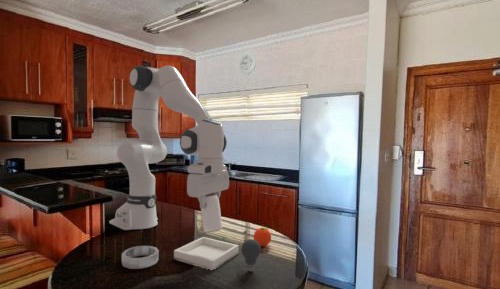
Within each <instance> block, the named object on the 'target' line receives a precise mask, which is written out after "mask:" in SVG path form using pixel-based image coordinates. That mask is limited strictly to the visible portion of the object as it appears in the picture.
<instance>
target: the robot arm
mask: <svg viewBox="0 0 500 289" xmlns="http://www.w3.org/2000/svg"><path fill="white" fill-rule="evenodd" d="M128 81H129V84H130V86H131V88H132V89H133V90H135V91H134V94H133V101H132V111H131V112H132V113H131V117H132V118H131V126H132V128H133V130H135V131H136V133H137V135H138V138H139V139H137V140H135V139H134V140H133V139H132V140H128V141H123V142H122V143H120V144H119V145H118V147H117V150H116V155H117V158H118V160H119V162H121V164H123V166H124V167H125V169H126V170H127V173H128V174H127V175H128V177H129V179H128V180H129V194H128V195H125V199H126V201H125V202H124V203H123V204H122V205H121V206H120V207H119V208H117V209H116V211H115V215H114V218H113V219H111V220H108V221H109V224H110V225H113V226H114V227H116V228H119V229H121V230H123V231H130V230H144V229H151V228H153V227H155V226H158V225H159V223H158V221H157V220H159V218H158V216H157V205H156V202H157V194H156V177H155V175H154V174H153V173H151V171H150V167H149V164H150V165H151V164H157V163H160V162H161V161H163V160H165V159H166V156H167V155H168V150H167V146H166V144H165V143H164V142H163V141H162V138H161V136H160V131H159V100H160V98H161V99H162V101H163V103H164V104H165V106H166V107H167V108H168V109H170V110H172V111H174V112H177V113H181V114H183V115H186V116H188V117H189V118H192V119H193V120H194V121H195V122H196V124H197V125H196V126H194V127H192V128H189V129H186V130H184V131H183V132H182V133H181V135H180V138H179V145H180V147H179V148H180V150H181V151H182V152H183V153H184V154H185V155H188V156H197V160H195V161H194V162H193V163H192V164H190V165H189V166H187V172H188V175H187V179H186V180H187V181H186V192H187V193H186V194H187V195H188V197H189V198H190V197H192V198H197V201H198V202H199V208H200V209H201V208H206V203H205V200H204V198H205V195H211V194H217V197H218V198H219V199H220V198H221V193H222V191H225V190H226V191H227V190H228V189H229V187H230V178H229V177H230V176H229V172H228V167H227V166H226V165H225V164H224V154H223V153H224V151H225V150H226V148H227V144H228V143H227V137H226V135H225V134H224V127H223V123H221V122H220V121H218V120H216V119H213V118H212V117H211V115H210V114H209V112H208V111H207V108H206V107H205V106H204V104H203V103H202V102H201V101H200V100H199V99H198V98H197V97H196V96H195V95H194V94H193V93H192V91H191V90H190V88H189V86H188V84H187V83H186V80H184V77H183V75H182V74H181V73H180V71H179V70H178V69H177V68H176V67H174V66H172V65H164V66H162V67H160V68H156V67H150V66H145V65H136V66H133V68H132V69H131V71H130V72H129V80H128Z"/></svg>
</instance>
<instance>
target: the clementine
mask: <svg viewBox="0 0 500 289" xmlns="http://www.w3.org/2000/svg"><path fill="white" fill-rule="evenodd" d="M253 240H256V241H257V242H258V243H259V244H260V247H266V246H268V245H269V244H270V243H271V241H272V234H271V232H270V230H269V229H268V227H264V226H263V227H259V228H257V229H256V230H255V231H254V233H253Z"/></svg>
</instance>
